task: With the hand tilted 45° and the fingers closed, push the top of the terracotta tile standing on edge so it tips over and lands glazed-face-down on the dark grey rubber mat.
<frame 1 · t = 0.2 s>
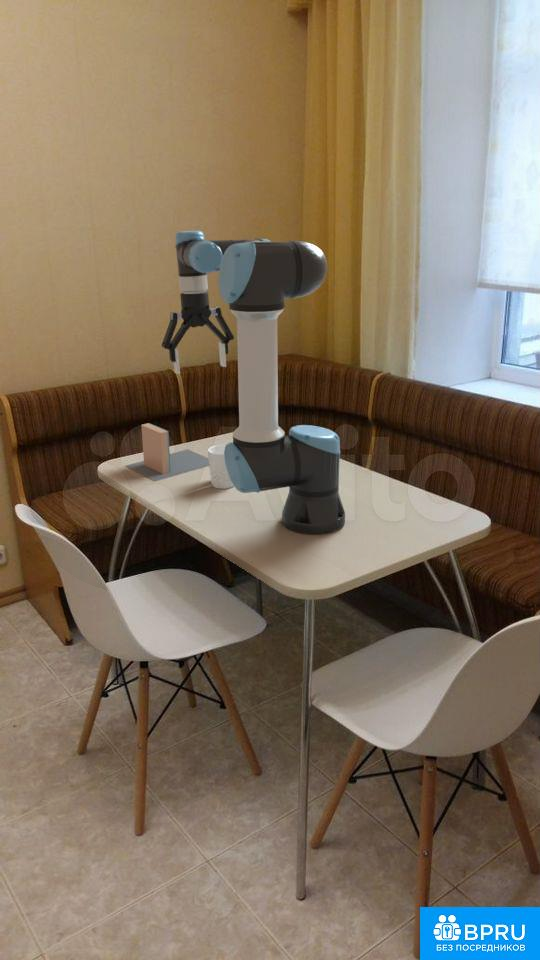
hand: (200, 369, 210), 28 cm above the table, tool pointing down, fingers open, 13 cm apart
white cup: (223, 485, 205), on the table
tile: (157, 468, 215), point 1 cm above the table, touching mat
mat: (172, 466, 218), on the table
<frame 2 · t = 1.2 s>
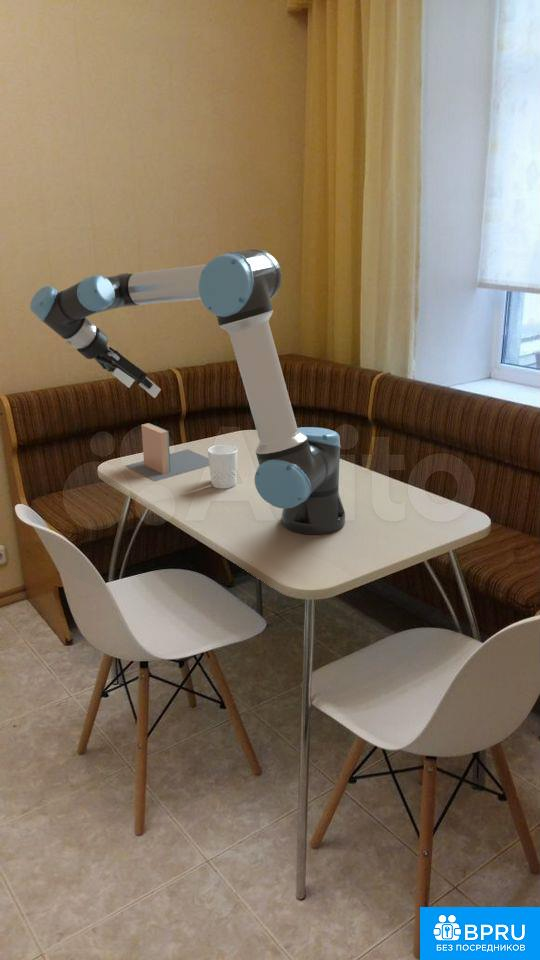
hand: (144, 388, 199), 26 cm above the table, tool tilted 45°, fingers open, 12 cm apart
nothing on the table moved.
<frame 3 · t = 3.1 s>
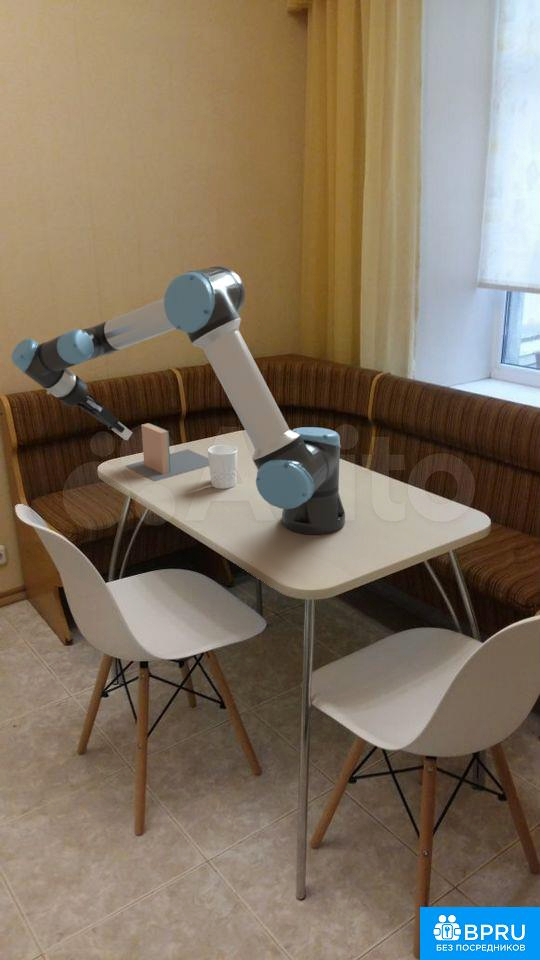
hand: (128, 436, 206), 12 cm above the table, tool tilted 45°, fingers closed
nothing on the table moved.
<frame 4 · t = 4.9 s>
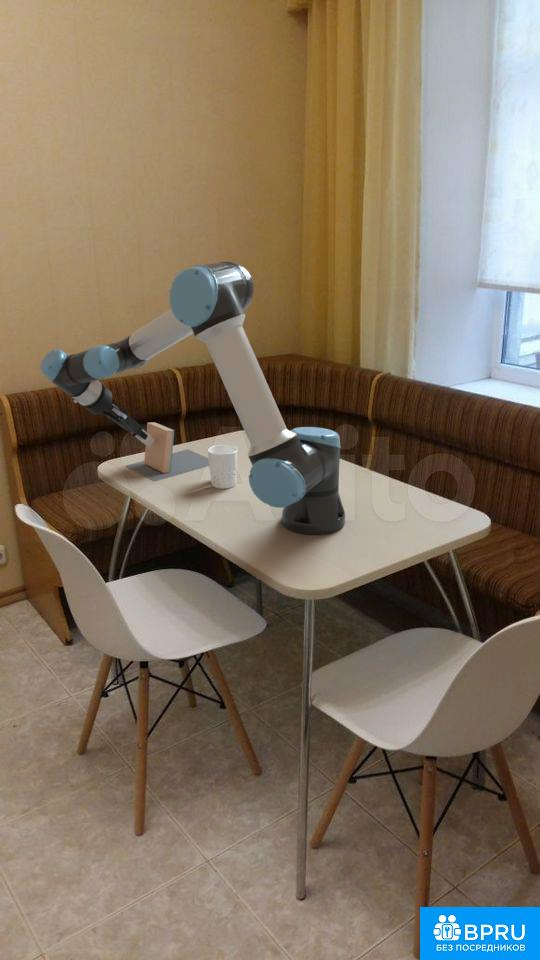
hand: (151, 442, 212), 8 cm above the table, tool tilted 45°, fingers closed
tile: (157, 467, 215), point 1 cm above the table, tilted 9°, touching gripper, mat
everything else where it was.
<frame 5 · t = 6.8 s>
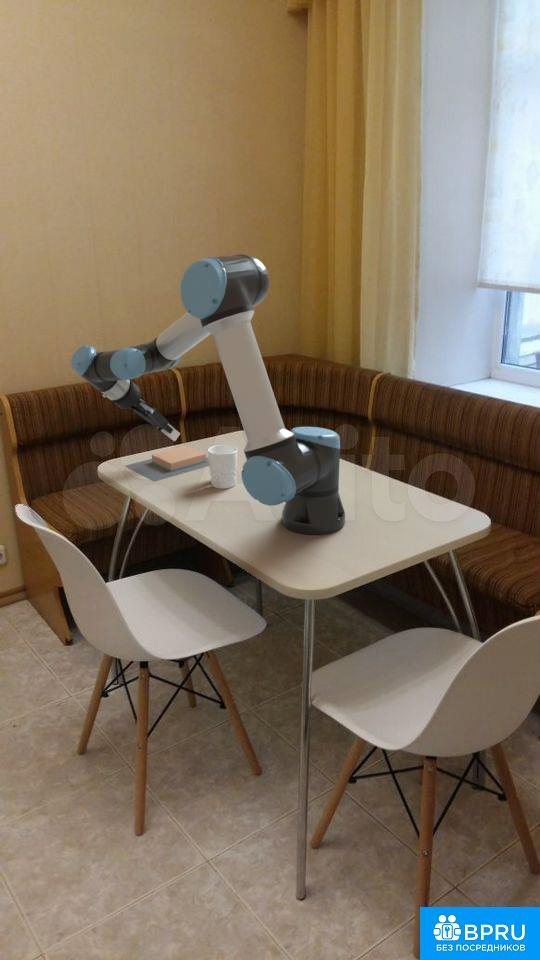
hand: (176, 436, 216), 9 cm above the table, tool tilted 45°, fingers closed
tile: (161, 463, 215), point 2 cm above the table, tilted 90°, touching mat
everything else where it was.
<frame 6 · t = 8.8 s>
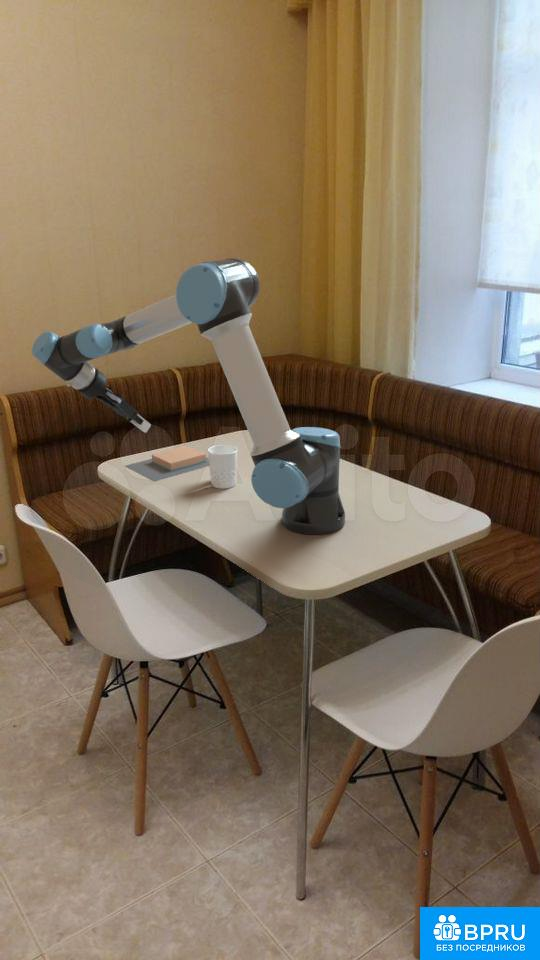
hand: (147, 428, 208), 13 cm above the table, tool tilted 45°, fingers closed
nothing on the table moved.
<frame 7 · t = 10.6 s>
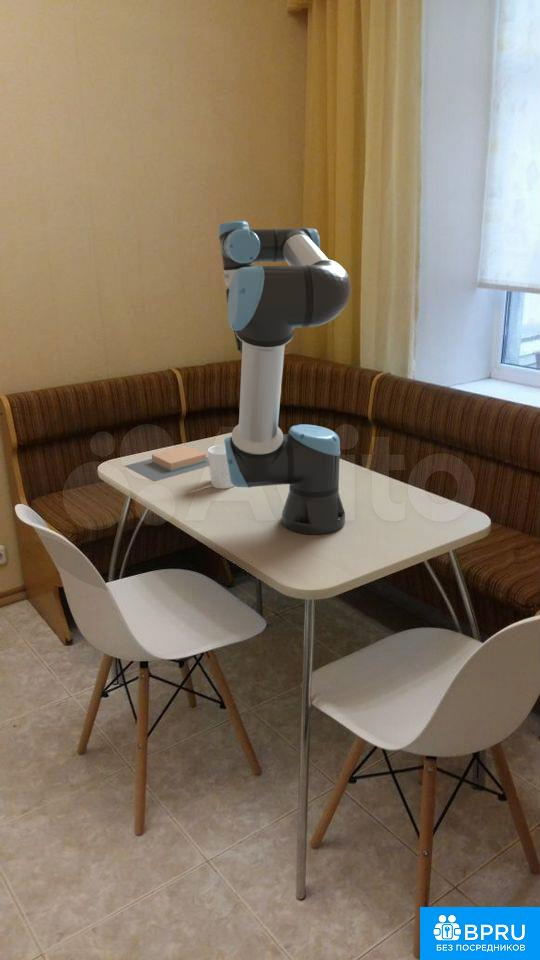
hand: (251, 378, 197), 28 cm above the table, tool pointing down, fingers closed
nothing on the table moved.
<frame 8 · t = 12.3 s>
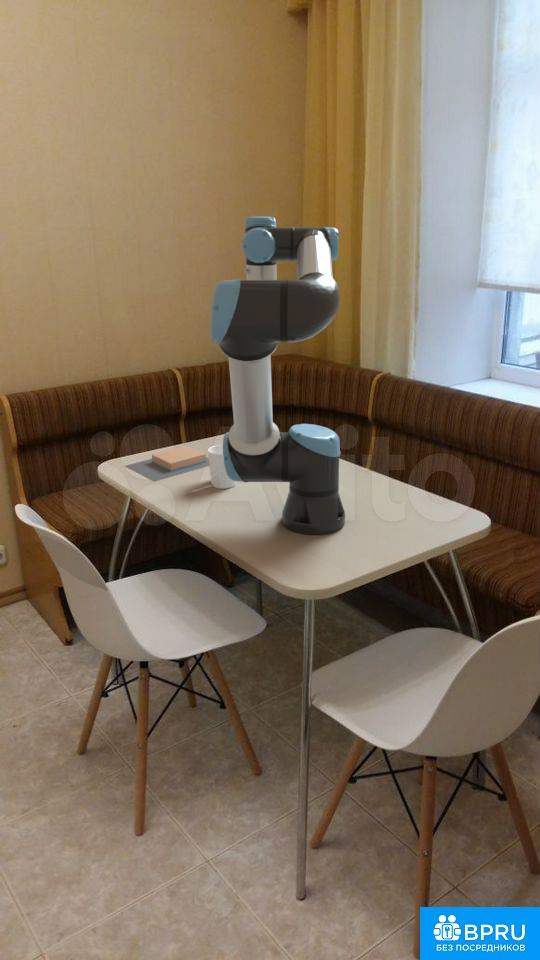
hand: (262, 375, 197), 29 cm above the table, tool pointing down, fingers closed
nothing on the table moved.
at the end: tile tilted 90°; tile inside the target area on the mat (2.6 cm from its centre), point 1.8 cm above the mat's base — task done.
